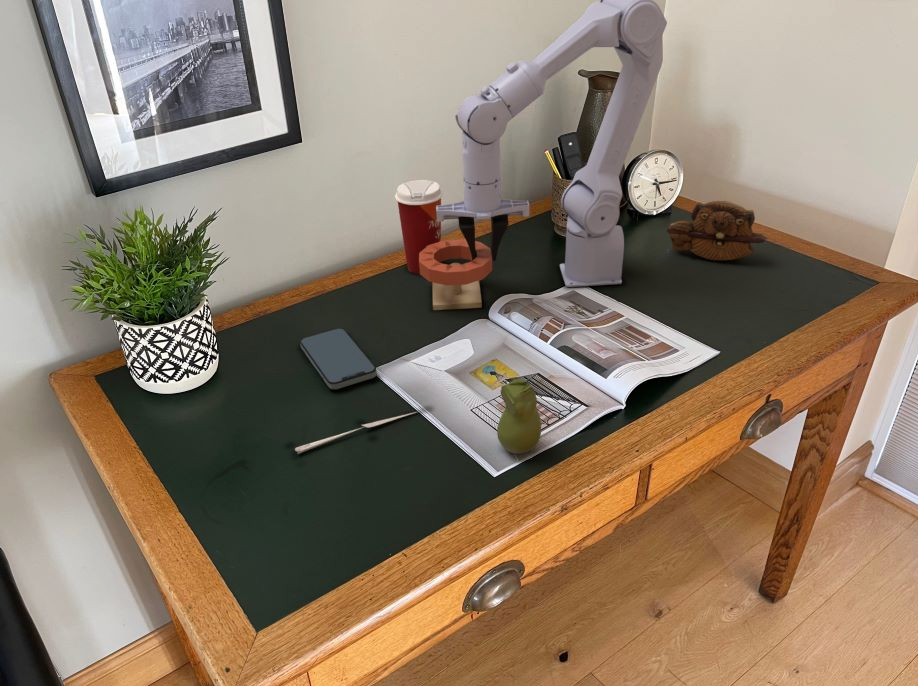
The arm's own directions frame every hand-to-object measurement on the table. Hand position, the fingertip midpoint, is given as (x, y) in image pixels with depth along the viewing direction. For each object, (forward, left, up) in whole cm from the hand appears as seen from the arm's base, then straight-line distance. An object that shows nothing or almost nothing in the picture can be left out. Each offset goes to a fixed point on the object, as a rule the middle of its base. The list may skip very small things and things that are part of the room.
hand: (483, 258), depth 128 cm
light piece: (+18, +35, -7) cm, 40 cm away
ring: (+5, 0, -1) cm, 5 cm away
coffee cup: (+10, -12, -7) cm, 17 cm away
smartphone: (+23, +18, -7) cm, 30 cm away
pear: (-2, +40, -7) cm, 41 cm away
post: (+5, 0, -7) cm, 8 cm away
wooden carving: (-41, -9, -7) cm, 42 cm away
